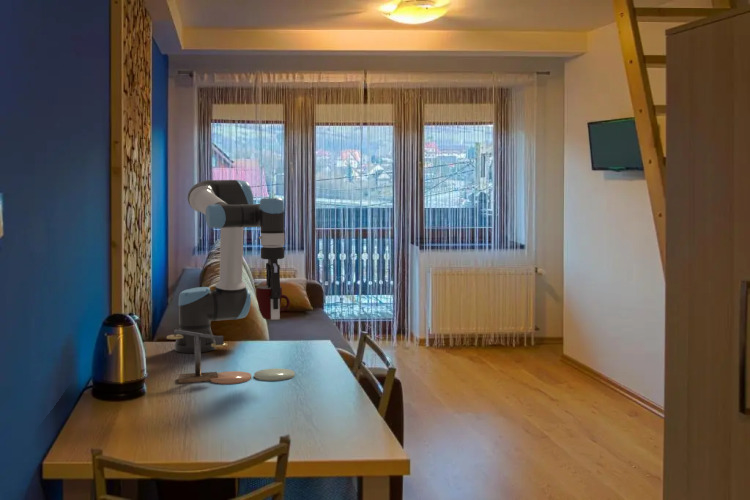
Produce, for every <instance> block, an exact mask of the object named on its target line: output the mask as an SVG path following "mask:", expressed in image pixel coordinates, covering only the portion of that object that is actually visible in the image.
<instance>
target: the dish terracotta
mask: <svg viewBox="0 0 750 500" xmlns="http://www.w3.org/2000/svg"><path fill="white" fill-rule="evenodd" d="M217 374H218V378H210V381H209V382H211V383H213V384H217V383H218V384H219V385H220V384H221V385H234V384H235V385H236V384H241V383H242V382H243V383H247V382H249V381H251V380H252V373H250V372H248V371H238V370H236V371H235V370H234V371H232V370H231V371H221V372H217ZM250 379H251V380H250ZM218 384H217V385H218Z"/></svg>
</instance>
